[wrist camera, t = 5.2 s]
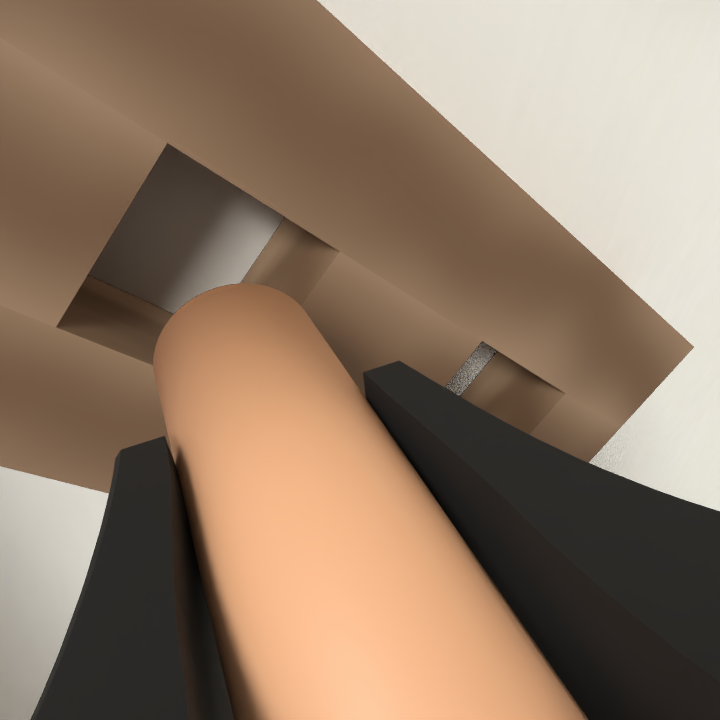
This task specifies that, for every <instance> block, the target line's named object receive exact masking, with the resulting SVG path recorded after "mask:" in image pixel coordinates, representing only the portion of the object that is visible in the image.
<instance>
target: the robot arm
mask: <svg viewBox="0 0 720 720" xmlns="http://www.w3.org/2000/svg"><path fill="white" fill-rule="evenodd" d="M363 378H364V387H365V396H366V400H367V401H368V403H369V404H370V405H371V407H372V408H373V410H374V411H375V413H376V414H377V415H378V417H379V418H380V420H381V421H382V423H383V424H384V426H385V427H386V428H387V430H388V431H389V433H390V434H391V436H392V437H393V439H394V440H395V441H396V443H397V444H398V446H399V447H400V449H401V450H402V452H403V453H404V454H405V456H406V457H407V459H408V460H409V462H410V463H411V464H412V466H413V467H414V469H415V470H416V472H417V473H418V475H419V476H420V477H421V479H422V480H423V482H424V483H425V485H426V486H427V488H428V489H429V490H430V492H431V493H432V495H433V496H434V498H435V499H436V501H437V502H438V503H439V505H440V506H441V508H442V509H443V511H444V512H445V513H446V515H447V516H448V518H449V519H450V521H451V522H452V524H453V525H454V526H455V528H456V529H457V531H458V532H459V534H460V535H461V537H462V538H463V539H464V541H465V542H466V544H467V545H468V547H469V548H470V550H471V551H472V552H473V554H474V555H475V557H476V558H477V560H478V561H479V562H480V564H481V565H482V567H483V568H484V570H485V571H486V573H487V574H488V575H489V577H490V578H491V580H492V581H493V583H494V584H495V586H496V587H497V588H498V590H499V591H500V593H501V594H502V596H503V597H504V599H505V600H506V601H507V603H508V604H509V606H510V607H511V609H512V610H513V612H514V613H515V614H516V616H517V617H518V619H519V620H520V622H521V623H522V624H523V626H524V627H525V629H526V630H527V632H528V633H529V635H530V636H531V637H532V639H533V640H534V642H535V643H536V645H537V646H538V648H539V649H540V650H541V652H542V653H543V655H544V656H545V658H546V659H547V661H548V662H549V663H550V665H551V666H552V668H553V669H554V671H555V672H556V673H557V675H558V676H559V678H560V679H561V681H562V682H563V684H564V685H565V686H566V688H567V689H568V691H569V692H570V694H571V695H572V697H573V698H574V699H575V701H576V702H577V704H578V705H579V707H580V708H581V710H582V711H583V712H584V714H585V715H586V717H587V718H588V720H720V511H716V510H713V509H710V508H707V507H704V506H701V505H698V504H695V503H692V502H689V501H685V500H683V499H680V498H677V497H674V496H671V495H669V494H666V493H663V492H660V491H657V490H655V489H652V488H649V487H647V486H644V485H642V484H639V483H637V482H634V481H632V480H629V479H627V478H624V477H622V476H619V475H617V474H614V473H612V472H609V471H606V470H604V469H602V468H599V467H597V466H595V465H592V464H590V463H588V462H585V461H583V460H581V459H579V458H577V457H574V456H572V455H570V454H568V453H566V452H564V451H562V450H560V449H558V448H556V447H554V446H551V445H549V444H547V443H545V442H543V441H541V440H539V439H537V438H535V437H533V436H531V435H529V434H527V433H525V432H523V431H521V430H519V429H517V428H515V427H514V426H512V425H510V424H508V423H506V422H504V421H502V420H501V419H499V418H497V417H495V416H493V415H491V414H490V413H488V412H486V411H484V410H482V409H481V408H479V407H477V406H475V405H474V404H472V403H470V402H468V401H467V400H465V399H463V398H462V397H460V396H458V395H456V394H455V393H453V392H451V391H450V390H448V389H446V388H445V387H443V386H441V385H440V384H438V383H436V382H434V381H433V380H431V379H429V378H428V377H426V376H424V375H423V374H421V373H419V372H418V371H416V370H414V369H413V368H411V367H409V366H408V365H406V364H404V363H403V362H401V361H396V362H393V363H390V364H387V365H384V366H381V367H378V368H374V369H371V370H368V371H365V372H363ZM31 720H234V717H233V713H232V709H231V704H230V700H229V696H228V692H227V687H226V683H225V679H224V674H223V670H222V666H221V661H220V657H219V653H218V648H217V644H216V640H215V635H214V631H213V627H212V622H211V618H210V614H209V610H208V605H207V601H206V597H205V592H204V588H203V584H202V579H201V575H200V571H199V566H198V562H197V558H196V553H195V549H194V545H193V540H192V536H191V531H190V526H189V521H188V516H187V511H186V507H185V503H184V498H183V494H182V490H181V485H180V481H179V477H178V473H177V468H176V465H175V462H174V459H173V457H172V454H171V451H170V449H169V446H168V443H167V440H166V438H165V436H162V437H159V438H156V439H153V440H149V441H146V442H143V443H140V444H137V445H134V446H131V447H128V448H124V449H121V450H120V452H119V453H118V455H117V456H116V458H115V463H114V471H113V476H112V482H111V487H110V492H109V496H108V501H107V505H106V509H105V513H104V517H103V521H102V525H101V529H100V532H99V536H98V539H97V543H96V546H95V549H94V553H93V556H92V559H91V563H90V566H89V569H88V573H87V576H86V579H85V582H84V585H83V588H82V591H81V594H80V597H79V600H78V602H77V605H76V608H75V611H74V613H73V616H72V619H71V622H70V624H69V627H68V630H67V633H66V635H65V638H64V641H63V643H62V646H61V649H60V652H59V654H58V657H57V659H56V662H55V664H54V667H53V669H52V671H51V674H50V676H49V679H48V681H47V684H46V686H45V688H44V691H43V693H42V695H41V697H40V700H39V702H38V704H37V707H36V709H35V711H34V713H33V715H32V718H31Z"/></svg>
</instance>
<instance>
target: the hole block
mask: <svg viewBox="0 0 720 720" xmlns="http://www.w3.org/2000/svg"><path fill="white" fill-rule="evenodd" d="M167 143H168V144H170V145H171V146H173V147H175V148H176V149H178V150H179V151H181V152H182V153H184V154H186V155H187V156H189V157H190V158H192V159H194V160H195V161H197V162H198V163H200V164H202V165H203V166H205V167H206V168H208V169H209V170H211V171H213V172H214V173H216V174H217V175H219V176H221V177H222V178H224V179H225V180H227V181H229V182H230V183H232V184H233V185H235V186H237V187H238V188H240V189H241V190H243V191H244V192H246V193H248V194H249V195H251V196H252V197H254V198H256V199H257V200H259V201H260V202H262V203H264V204H265V205H267V206H268V207H270V208H271V209H273V210H275V211H276V212H278V213H279V214H281V215H283V216H284V217H285V218H284V219H283V221H282V222H281V224H280V225H279V227H278V228H277V230H276V231H275V233H274V234H273V236H272V237H271V239H270V240H269V242H268V243H267V245H266V246H265V248H264V249H263V250H262V252H261V253H260V255H259V256H258V258H257V259H256V261H255V262H254V264H253V265H252V267H251V268H250V270H249V271H248V273H247V274H246V276H245V277H244V278H243V280H242V281H241V283H247V284H258V285H264V286H268V287H271V288H274V289H277V290H279V291H281V292H283V293H285V294H287V295H288V296H290V297H291V298H293V299H294V300H295V301H296V302H297V303H298V304H299V305H300V306H301V307H302V308H303V309H304V310H305V312H306V313H307V315H308V316H309V317H310V319H311V320H312V322H313V323H314V325H315V326H316V328H317V329H318V330H319V332H320V333H321V335H322V336H323V338H324V339H325V341H326V342H327V343H328V345H329V346H330V348H331V349H332V351H333V352H334V354H335V355H336V356H337V358H338V359H339V361H340V362H341V364H342V365H343V366H344V368H345V369H346V371H347V372H348V374H349V375H350V377H351V378H352V379H353V381H354V382H355V384H356V385H357V387H358V388H359V390H360V391H361V392H362V394H363V395H364V397H365V398H366V396H365V387H364V378H363V372H365V371H368V370H371V369H374V368H378V367H381V366H384V365H387V364H390V363H393V362H396V361H401V362H403V363H404V364H406V365H408V366H409V367H411V368H413V369H414V370H416V371H418V372H419V373H421V374H423V375H424V376H426V377H428V378H429V379H431V380H433V381H434V382H436V383H438V384H440V385H441V386H443V387H445V386H446V385H447V384H448V383H449V381H450V380H451V379H452V378H453V376H454V375H455V374H456V373H457V372H458V370H459V369H460V368H461V367H462V365H463V364H464V363H465V362H466V360H467V359H468V358H469V357H470V355H471V354H472V353H473V352H474V351H475V349H476V348H477V347H478V346H479V344H480V343H481V342H482V341H483V342H484V343H486V344H488V345H489V346H491V347H492V348H494V349H496V350H497V352H496V354H495V355H494V356H493V357H492V358H491V360H490V361H489V362H488V363H487V365H486V366H485V367H484V368H483V369H482V371H481V372H480V373H479V374H478V375H477V377H476V378H475V379H474V380H473V382H472V383H471V384H470V385H469V386H468V388H467V389H466V390H465V391H464V393H463V394H462V395H461V396H460V397H462V398H463V399H465V400H467V401H468V402H470V403H472V404H474V405H475V406H477V407H479V408H481V409H482V410H484V411H486V412H488V413H490V414H491V415H493V416H495V417H497V418H499V419H501V420H502V421H504V422H506V423H508V424H510V425H512V426H514V427H515V428H517V429H519V430H521V431H523V432H525V433H527V434H529V435H531V436H533V437H535V438H537V439H539V440H541V441H543V442H545V443H547V444H549V445H551V446H554V447H556V448H558V449H560V450H562V451H564V452H566V453H568V454H570V455H572V456H574V457H577V458H579V459H581V460H583V461H585V462H588V463H589V461H590V460H591V459H592V458H593V457H594V456H595V455H596V454H597V453H598V452H599V451H600V449H601V448H602V447H603V446H604V445H605V444H606V443H607V442H608V441H609V440H610V438H611V437H612V436H613V435H614V434H615V433H616V432H617V431H618V430H619V429H620V428H621V426H622V425H623V424H624V423H625V422H626V421H627V420H628V419H629V418H630V417H631V415H632V414H633V413H634V412H635V411H636V410H637V409H638V408H639V407H640V406H641V405H642V403H643V402H644V401H645V400H646V399H647V398H648V397H649V396H650V395H651V394H652V393H653V391H654V390H655V389H656V388H657V387H658V386H659V385H660V384H661V383H662V382H663V380H664V379H665V378H666V377H667V376H668V375H669V374H670V373H671V372H672V371H673V370H674V368H675V367H676V366H677V365H678V364H679V363H680V362H681V361H682V360H683V359H684V358H685V356H686V355H687V354H688V353H689V352H690V351H691V350H692V349H693V348H694V346H692V345H691V344H690V343H689V342H688V341H687V340H686V339H685V338H684V337H683V336H682V335H680V334H679V333H678V332H677V331H676V330H675V329H674V328H673V327H672V326H671V325H670V324H668V323H667V322H666V321H665V320H664V319H663V318H662V317H661V316H660V315H659V314H658V313H657V312H655V311H654V310H653V309H652V308H651V307H650V306H649V305H648V304H647V303H646V302H645V301H643V300H642V299H641V298H640V297H639V296H638V295H637V294H636V293H635V292H634V291H633V290H631V289H630V288H629V287H628V286H627V285H626V284H625V283H624V282H623V281H622V280H621V279H620V278H618V277H617V276H616V275H615V274H614V273H613V272H612V271H611V270H610V269H609V268H608V267H606V266H605V265H604V264H603V263H602V262H601V261H600V260H599V259H598V258H597V257H596V256H594V255H593V254H592V253H591V252H590V251H589V250H588V249H587V248H586V247H585V246H584V245H583V244H581V243H580V242H579V241H578V240H577V239H576V238H575V237H574V236H573V235H572V234H571V233H569V232H568V231H567V230H566V229H565V228H564V227H563V226H562V225H561V224H560V223H559V222H557V221H556V220H555V219H554V218H553V217H552V216H551V215H550V214H549V213H548V212H547V211H546V210H544V209H543V208H542V207H541V206H540V205H539V204H538V203H537V202H536V201H535V200H534V199H532V198H531V197H530V196H529V195H528V194H527V193H526V192H525V191H524V190H523V189H522V188H520V187H519V186H518V185H517V184H516V183H515V182H514V181H513V180H512V179H511V178H510V177H509V176H507V175H506V174H505V173H504V172H503V171H502V170H501V169H500V168H499V167H498V166H497V165H495V164H494V163H493V162H492V161H491V160H490V159H489V158H488V157H487V156H486V155H485V154H483V153H482V152H481V151H480V150H479V149H478V148H477V147H476V146H475V145H474V144H473V143H471V142H470V141H469V140H468V139H467V138H466V137H465V136H464V135H463V134H462V133H461V132H460V131H458V130H457V129H456V128H455V127H454V126H453V125H452V124H451V123H450V122H449V121H448V120H446V119H445V118H444V117H443V116H442V115H441V114H440V113H439V112H438V111H437V110H436V109H434V108H433V107H432V106H431V105H430V104H429V103H428V102H427V101H426V100H425V99H424V98H423V97H421V96H420V95H419V94H418V93H417V92H416V91H415V90H414V89H413V88H412V87H411V86H409V85H408V84H407V83H406V82H405V81H404V80H403V79H402V78H401V77H400V76H399V75H397V74H396V73H395V72H394V71H393V70H392V69H391V68H390V67H389V66H388V65H387V64H386V63H384V62H383V61H382V60H381V59H380V58H379V57H378V56H377V55H376V54H375V53H374V52H372V51H371V50H370V49H369V48H368V47H367V46H366V45H365V44H364V43H363V42H362V41H360V40H359V39H358V38H357V37H356V36H355V35H354V34H353V33H352V32H351V31H350V30H349V29H347V28H346V27H345V26H344V25H343V24H342V23H341V22H340V21H339V20H338V19H337V18H335V17H334V16H333V15H332V14H331V13H330V12H329V11H328V10H327V9H326V8H325V7H323V6H322V5H321V4H320V3H319V2H318V1H317V0H0V466H2V467H6V468H10V469H14V470H18V471H22V472H26V473H30V474H34V475H38V476H42V477H46V478H50V479H54V480H58V481H62V482H66V483H70V484H74V485H78V486H82V487H86V488H90V489H94V490H98V491H102V492H106V493H109V492H110V487H111V482H112V476H113V471H114V463H115V458H116V456H117V455H118V453H119V452H120V450H121V449H124V448H128V447H131V446H134V445H137V444H140V443H143V442H146V441H149V440H153V439H156V438H159V437H162V436H165V438H166V440H167V443H168V446H169V449H170V451H171V454H172V450H171V446H170V441H169V437H168V433H167V428H166V424H165V420H164V415H163V411H162V407H161V402H160V398H159V394H158V389H157V385H156V381H155V376H154V369H153V357H154V351H155V346H156V344H157V341H158V338H159V336H160V334H161V332H162V330H163V328H164V326H165V325H166V324H167V322H168V321H169V319H170V318H171V317H172V316H173V315H174V314H172V313H170V312H167V311H165V310H163V309H161V308H159V307H156V306H154V305H152V304H150V303H148V302H145V301H143V300H141V299H139V298H137V297H134V296H132V295H130V294H128V293H126V292H123V291H121V290H119V289H117V288H115V287H112V286H110V285H108V284H106V283H104V282H101V281H99V280H97V279H95V278H93V277H90V276H88V273H89V272H90V270H91V268H92V267H93V265H94V263H95V262H96V260H97V258H98V257H99V255H100V254H101V252H102V250H103V249H104V247H105V245H106V244H107V242H108V240H109V239H110V237H111V235H112V234H113V232H114V230H115V229H116V227H117V225H118V224H119V222H120V220H121V219H122V217H123V216H124V214H125V212H126V211H127V209H128V207H129V206H130V204H131V202H132V201H133V199H134V197H135V196H136V194H137V192H138V191H139V189H140V187H141V186H142V184H143V182H144V181H145V179H146V178H147V176H148V174H149V173H150V171H151V169H152V168H153V166H154V164H155V163H156V161H157V159H158V158H159V156H160V154H161V153H162V151H163V149H164V148H165V146H166V144H167ZM172 457H173V454H172ZM173 459H174V458H173Z"/></svg>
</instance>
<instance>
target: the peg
mask: <svg viewBox="0 0 720 720" xmlns="http://www.w3.org/2000/svg"><path fill="white" fill-rule="evenodd" d="M153 369H154V376H155V381H156V385H157V389H158V394H159V398H160V402H161V407H162V411H163V415H164V420H165V424H166V428H167V433H168V437H169V441H170V446H171V450H172V454H173V458H174V462H175V465H176V468H177V473H178V477H179V481H180V485H181V490H182V494H183V498H184V503H185V507H186V511H187V516H188V521H189V526H190V531H191V536H192V540H193V545H194V549H195V553H196V558H197V562H198V566H199V571H200V575H201V579H202V584H203V588H204V592H205V597H206V601H207V605H208V610H209V614H210V618H211V622H212V627H213V631H214V635H215V640H216V644H217V648H218V653H219V657H220V661H221V666H222V670H223V674H224V679H225V683H226V687H227V692H228V696H229V700H230V704H231V709H232V713H233V717H234V720H588V718H587V717H586V715H585V714H584V712H583V711H582V710H581V708H580V707H579V705H578V704H577V702H576V701H575V699H574V698H573V697H572V695H571V694H570V692H569V691H568V689H567V688H566V686H565V685H564V684H563V682H562V681H561V679H560V678H559V676H558V675H557V673H556V672H555V671H554V669H553V668H552V666H551V665H550V663H549V662H548V661H547V659H546V658H545V656H544V655H543V653H542V652H541V650H540V649H539V648H538V646H537V645H536V643H535V642H534V640H533V639H532V637H531V636H530V635H529V633H528V632H527V630H526V629H525V627H524V626H523V624H522V623H521V622H520V620H519V619H518V617H517V616H516V614H515V613H514V612H513V610H512V609H511V607H510V606H509V604H508V603H507V601H506V600H505V599H504V597H503V596H502V594H501V593H500V591H499V590H498V588H497V587H496V586H495V584H494V583H493V581H492V580H491V578H490V577H489V575H488V574H487V573H486V571H485V570H484V568H483V567H482V565H481V564H480V562H479V561H478V560H477V558H476V557H475V555H474V554H473V552H472V551H471V550H470V548H469V547H468V545H467V544H466V542H465V541H464V539H463V538H462V537H461V535H460V534H459V532H458V531H457V529H456V528H455V526H454V525H453V524H452V522H451V521H450V519H449V518H448V516H447V515H446V513H445V512H444V511H443V509H442V508H441V506H440V505H439V503H438V502H437V501H436V499H435V498H434V496H433V495H432V493H431V492H430V490H429V489H428V488H427V486H426V485H425V483H424V482H423V480H422V479H421V477H420V476H419V475H418V473H417V472H416V470H415V469H414V467H413V466H412V464H411V463H410V462H409V460H408V459H407V457H406V456H405V454H404V453H403V452H402V450H401V449H400V447H399V446H398V444H397V443H396V441H395V440H394V439H393V437H392V436H391V434H390V433H389V431H388V430H387V428H386V427H385V426H384V424H383V423H382V421H381V420H380V418H379V417H378V415H377V414H376V413H375V411H374V410H373V408H372V407H371V405H370V404H369V403H368V401H367V400H366V398H365V397H364V395H363V394H362V392H361V391H360V390H359V388H358V387H357V385H356V384H355V382H354V381H353V379H352V378H351V377H350V375H349V374H348V372H347V371H346V369H345V368H344V366H343V365H342V364H341V362H340V361H339V359H338V358H337V356H336V355H335V354H334V352H333V351H332V349H331V348H330V346H329V345H328V343H327V342H326V341H325V339H324V338H323V336H322V335H321V333H320V332H319V330H318V329H317V328H316V326H315V325H314V323H313V322H312V320H311V319H310V317H309V316H308V315H307V313H306V312H305V310H304V309H303V308H302V307H301V306H300V305H299V304H298V303H297V302H296V301H295V300H294V299H293V298H291V297H290V296H288V295H287V294H285V293H283V292H281V291H279V290H277V289H274V288H271V287H268V286H264V285H258V284H247V283H240V284H230V285H225V286H221V287H217V288H214V289H212V290H209V291H206V292H204V293H202V294H200V295H198V296H196V297H195V298H193V299H192V300H190V301H189V302H187V303H186V304H185V305H183V306H182V307H181V308H180V309H179V310H178V311H177V312H176V313H175V314H174V315H173V316H172V317H171V318H170V319H169V321H168V322H167V324H166V325H165V326H164V328H163V330H162V332H161V334H160V336H159V338H158V341H157V344H156V346H155V351H154V357H153Z"/></svg>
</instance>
